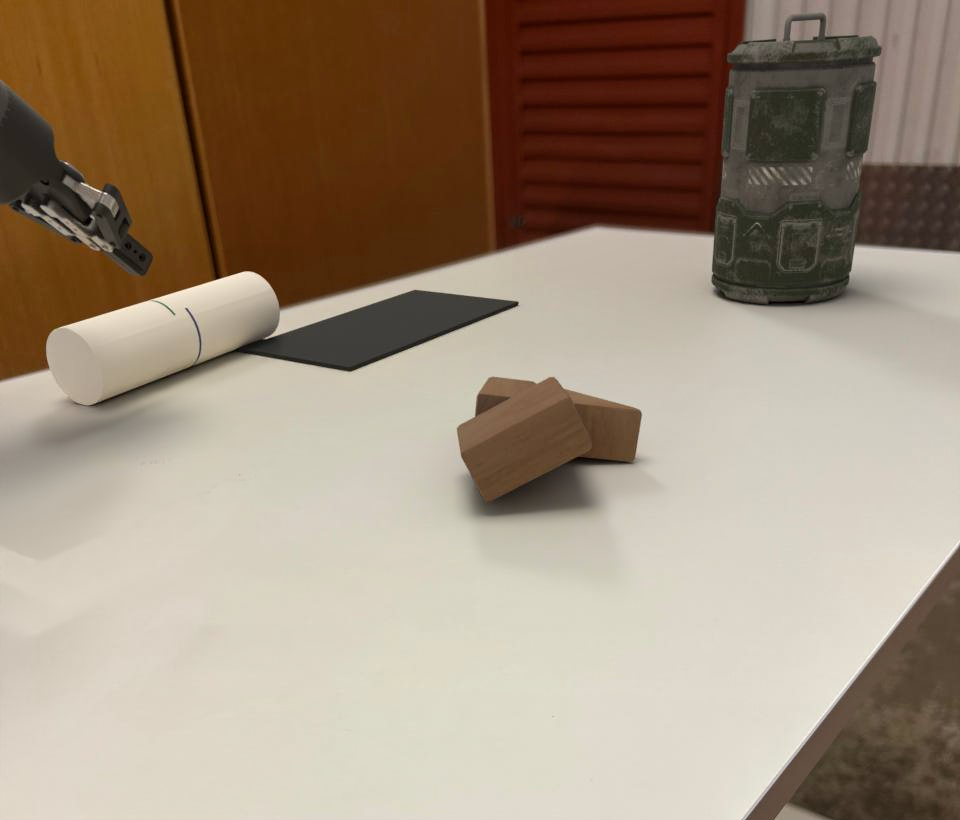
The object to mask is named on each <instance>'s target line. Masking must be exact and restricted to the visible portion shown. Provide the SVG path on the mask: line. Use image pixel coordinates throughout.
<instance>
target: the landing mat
mask: <svg viewBox="0 0 960 820" xmlns="http://www.w3.org/2000/svg"><path fill="white" fill-rule="evenodd" d="M519 302H520V301H518V300H508V299H499V298H490V297H484V296H483V297H482V296H473V295H465V294H455V293H448V292H440V291H439V292H437V291H431V290H421V289H412V290H410V291H406V292H403V293H400V294H397V295H394V296H392V297H389V298H385V299H383V300H379V301H376V302H373V303H371V304H367V305H364V306H361V307H358V308H355V309H352V310H350V311H347V312H343V313H340V314H338V315H337V314H336V315H334V316H332V317H328V318H324V319H322V320H319V321H317V322H313V323H310V324H306V325H304V326H301V327H297V328H295V329H292V330H288V331H287V332H283V333H279V334H277V335H274V336H270V337H267V338H264V339H261V340H259V341H256V342H253V343H251V344H248V345H246V346H243V347H240V348H238V349H239V352H241V353H246V354H252V355H258V356H263V357H267V358H274V359H279V360H280V359H281V360H285V361H291V362H296V363H303V364H308V365H314V366H320V367H325V368H331V369H336V370H343V371H348V372H352V371H354V370H356V369H359V368H362V367H364V366H367V365H370V364H371V363H374V362H377V361H379V360H382V359H384V358H387V357H389V356H392V355H395V354H397V353H400V352H403V351H404V350H407V349H409V348H413V347H414V346H415V347H416V346H417V345H420V344H423V343H425V342H428V341H429V340H433V339H436V338H437V337H441V336H444V335H445V334H448V333H451V332H454V331H456V330H458V329H461V328H463V327H466V326H468V325H472V324H473V323H476V322H479V321H481V320H484V319H486V318H488V317H491V316H493V314H494V315H496V314H499V313H502V312H504V311H506V309H507V310H509V309H511V307H512V308H514V307H516V306H515V305H517V306H519V305H520V304H519ZM518 304H519V305H518ZM513 306H514V307H513ZM508 308H509V309H508ZM503 310H504V311H503ZM501 311H502V312H501ZM498 312H499V313H498Z"/></svg>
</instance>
